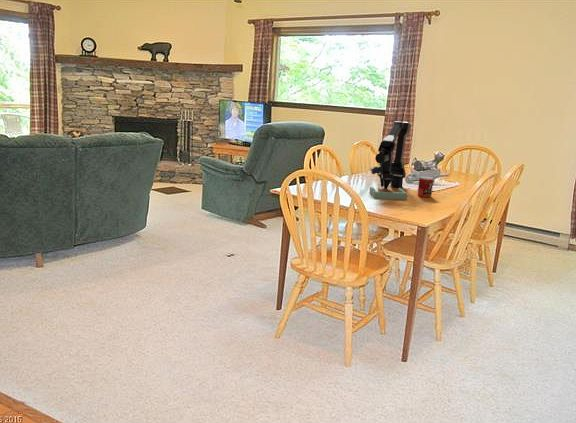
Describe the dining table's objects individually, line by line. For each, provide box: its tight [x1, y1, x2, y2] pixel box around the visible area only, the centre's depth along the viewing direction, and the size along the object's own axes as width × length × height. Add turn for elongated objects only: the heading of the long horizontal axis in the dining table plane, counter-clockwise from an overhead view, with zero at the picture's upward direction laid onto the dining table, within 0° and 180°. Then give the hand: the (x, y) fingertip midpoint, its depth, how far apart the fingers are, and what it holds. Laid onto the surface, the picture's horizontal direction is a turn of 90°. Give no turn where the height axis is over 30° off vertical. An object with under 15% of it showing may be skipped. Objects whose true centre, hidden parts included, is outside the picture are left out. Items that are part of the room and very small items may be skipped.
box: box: [369, 186, 408, 201], centre depth 296 cm, size 18×14×4 cm
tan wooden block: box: [377, 187, 394, 192], centre depth 299 cm, size 7×7×4 cm
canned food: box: [417, 175, 434, 199], centre depth 300 cm, size 8×8×11 cm
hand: (383, 188), depth 307 cm, fingers open, 9 cm apart
